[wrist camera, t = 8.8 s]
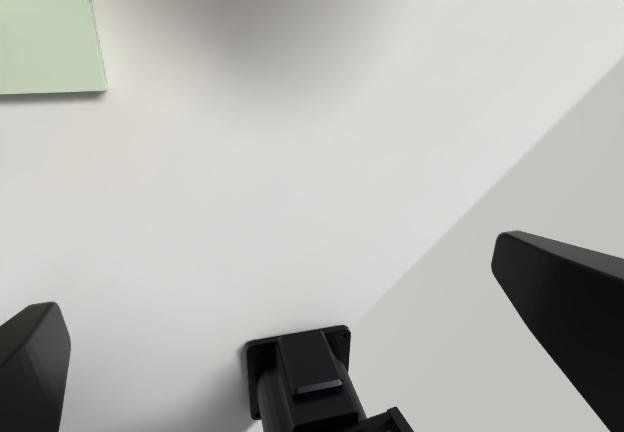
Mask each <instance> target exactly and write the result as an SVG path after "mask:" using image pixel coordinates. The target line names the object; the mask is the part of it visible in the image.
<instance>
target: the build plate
mask: <svg viewBox="0 0 624 432" xmlns="http://www.w3.org/2000/svg"><path fill="white" fill-rule="evenodd" d="M107 89H108V84H107V79H106V74H105V69H104V64H103V59H102V54H101V49H100V44H99V39H98V34H97V29H96V23H95V18H94V13H93V8H92V3H91V0H0V94H25V93H54V92H83V91H106V90H107Z"/></svg>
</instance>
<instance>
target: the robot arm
mask: <svg viewBox="0 0 624 432" xmlns="http://www.w3.org/2000/svg"><path fill="white" fill-rule="evenodd" d="M491 268H492V272H493V275H494V277H495V278H496V280H497V281H498V283H499V284H500V286H501V287H502V289H503V290H504V292H505V293H506V295H507V296H508V298H509V300H510V301H511V303H512V304H513V306H514V307H515V309H516V310H517V312H518V313H519V315H520V316H521V318H522V320H523V321H524V323H525V324H526V325H527V327H528V328H529V330H530V331H531V332H532V334H533V335H534V336H535V338H536V339H537V340H538V341H539V343H540V344H541V345H542V346H543V348H544V349H545V350H546V351H547V353H548V354H549V355H550V356H551V358H552V359H553V360H554V362H555V363H556V364H557V365H558V366H559V368H560V369H561V370H562V372H563V373H564V374H565V375H566V377H567V378H568V379H569V380H570V382H571V383H572V384H573V385H574V387H575V388H576V389H577V390H578V392H579V393H580V394H581V395H582V397H583V398H584V399H585V400H586V402H587V403H588V404H589V405H590V407H591V408H592V409H593V410H594V412H595V413H596V414H597V415H598V417H599V418H600V419H601V420H602V422H603V423H604V424H605V425H606V427H607V428H608V429H609V430H610V432H624V259H622V258H619V257H615V256H611V255H607V254H604V253H600V252H596V251H592V250H589V249H585V248H581V247H577V246H574V245H570V244H567V243H563V242H559V241H555V240H552V239H548V238H544V237H540V236H537V235H533V234H529V233H526V232H522V231H509V232H503V233H501V234H499V235H498V237H497V239H496V244H495V248H494V253H493V258H492V263H491ZM341 333H343V334H341ZM340 334H341V335H340ZM350 338H351V332H350V330H349V328H348V327H347V326H345V325H340V326H334V327H328V328H323V329H317V330H311V331H305V332H299V333H294V334H288V335H282V336H276V337H270V338H265V339H259V340H253V341H250V342H249V343H247V345H246V348H245V349H246V362H247V375H248V389H249V402H250V413H251V418H252V419H253V420H262V425H263V431H264V432H414V431H413V430H412V428H411V427H410V425H409V424H408V422H407V421H406V420H405V418H404V417H403V415H402V414H401V412H400V411H399V409H398V408H397V407H393V408H390V409H388V410H387V412H384V413H382V414H379V415H376V416H373V417H370V418H367V417H366V415H365V412H364V410H363V407H362V405H361V403H360V401H359V398H358V396H357V394H356V391H355V389H354V387H353V384H352V382H351V380H350V377H349V375H348V367H349V353H350ZM254 348H257V349H255V350H252V349H254ZM70 351H71V341H70V336H69V333H68V330H67V327H66V324H65V321H64V319H63V316H62V313H61V310H60V307H59V306H58V304H57V303H55V302H45V303H38V304H32V305H29V306H27V307H26V308H25V309H23V310H22V311H20V312H19V313H18V314H16V315H15V316H14V317H12V318H11V319H9V320H8V321H7V322H5V323H4V324H2V325H1V326H0V432H58V431H59V426H60V421H61V415H62V408H63V401H64V394H65V387H66V379H67V372H68V365H69V358H70Z"/></svg>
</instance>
